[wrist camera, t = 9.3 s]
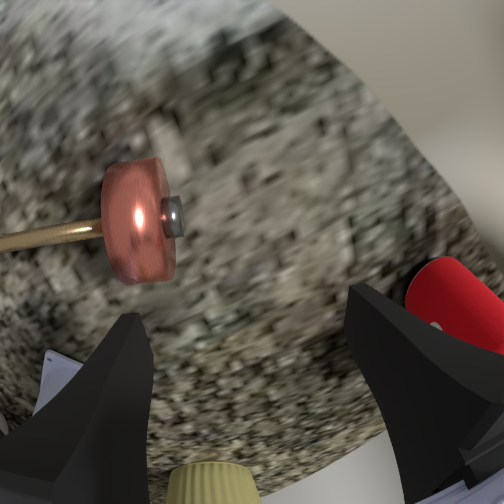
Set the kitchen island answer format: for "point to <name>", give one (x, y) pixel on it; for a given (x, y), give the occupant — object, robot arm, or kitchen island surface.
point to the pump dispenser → (3, 426)
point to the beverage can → (457, 304)
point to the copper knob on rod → (124, 224)
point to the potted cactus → (211, 484)
